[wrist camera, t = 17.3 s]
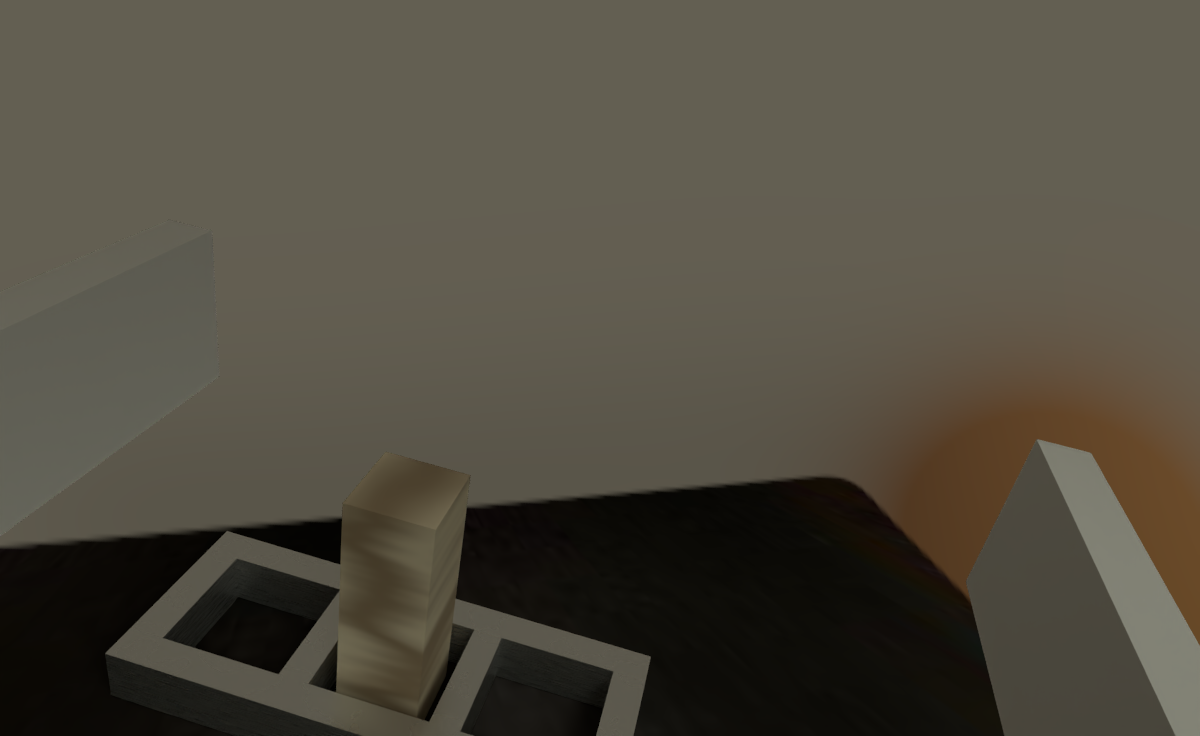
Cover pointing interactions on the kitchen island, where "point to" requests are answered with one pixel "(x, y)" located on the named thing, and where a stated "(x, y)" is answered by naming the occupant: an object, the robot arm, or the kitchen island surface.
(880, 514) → the kitchen island surface
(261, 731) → the grey flat slotted block
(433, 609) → the peg
